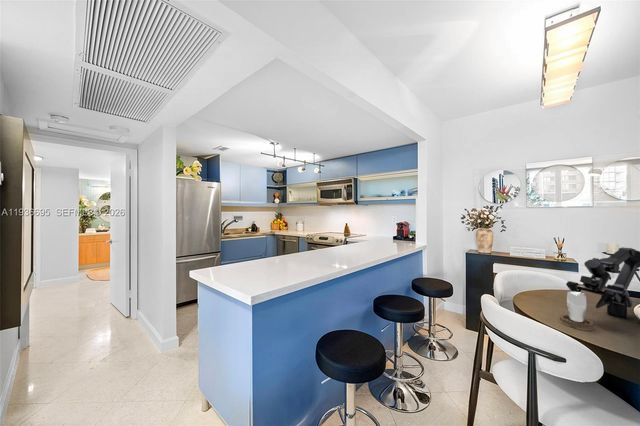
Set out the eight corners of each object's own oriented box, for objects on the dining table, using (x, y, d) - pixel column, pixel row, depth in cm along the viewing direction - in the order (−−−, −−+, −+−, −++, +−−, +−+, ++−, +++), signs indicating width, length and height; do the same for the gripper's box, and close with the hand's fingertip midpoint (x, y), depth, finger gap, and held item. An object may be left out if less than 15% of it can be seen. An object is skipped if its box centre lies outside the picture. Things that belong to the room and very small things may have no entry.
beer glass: (586, 327, 118) (586, 297, 117) (565, 322, 123) (566, 293, 123) (587, 323, 122) (587, 293, 122) (567, 318, 127) (568, 290, 127)
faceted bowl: (594, 324, 122) (594, 319, 122) (594, 333, 114) (595, 328, 114) (559, 316, 131) (559, 312, 131) (557, 324, 123) (557, 319, 123)
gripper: (568, 266, 134) (554, 288, 131) (617, 275, 116) (602, 301, 113) (577, 279, 136) (564, 301, 133) (627, 289, 118) (613, 315, 116)
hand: (584, 304), depth 124 cm, fingers open, 9 cm apart
